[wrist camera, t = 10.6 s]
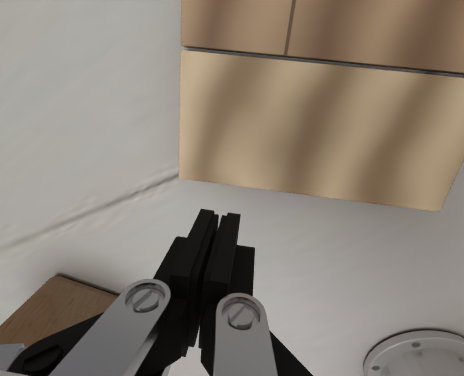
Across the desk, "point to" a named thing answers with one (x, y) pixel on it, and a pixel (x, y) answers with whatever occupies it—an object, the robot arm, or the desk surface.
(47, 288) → the wooden block
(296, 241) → the desk surface
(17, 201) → the desk surface
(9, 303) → the desk surface
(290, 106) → the board
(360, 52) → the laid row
